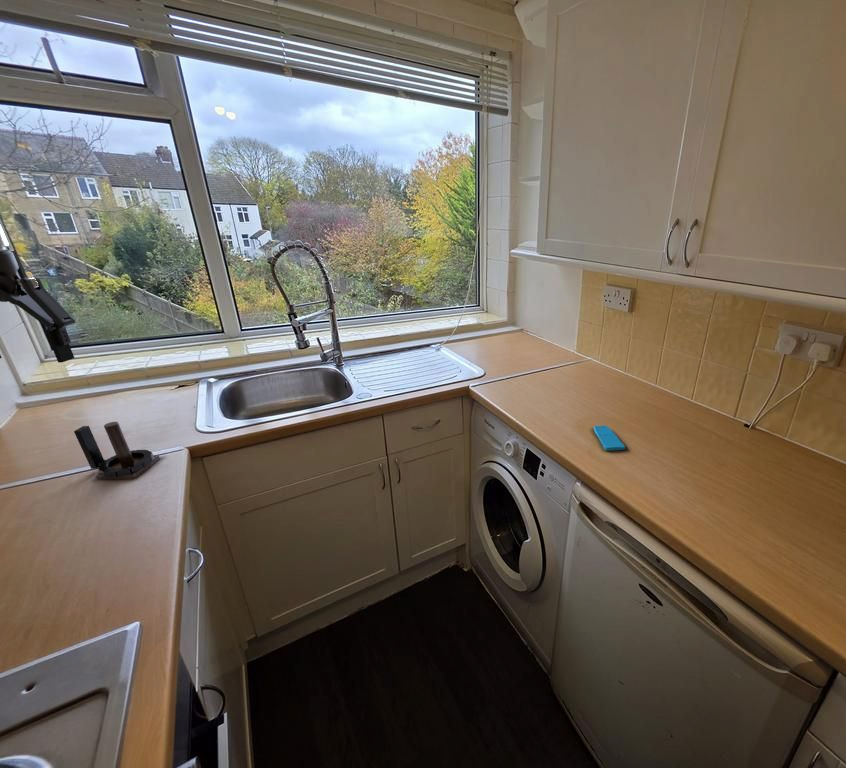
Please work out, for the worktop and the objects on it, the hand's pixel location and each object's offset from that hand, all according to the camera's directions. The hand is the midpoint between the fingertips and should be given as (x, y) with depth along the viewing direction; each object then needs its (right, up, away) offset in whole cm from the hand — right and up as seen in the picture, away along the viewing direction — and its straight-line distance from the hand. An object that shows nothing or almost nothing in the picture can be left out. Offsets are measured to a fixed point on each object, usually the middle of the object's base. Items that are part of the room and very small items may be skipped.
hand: (29, 360), depth 81 cm
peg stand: (+7, -25, +14) cm, 29 cm away
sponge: (+124, -20, +31) cm, 129 cm away
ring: (+6, -24, +13) cm, 28 cm away
